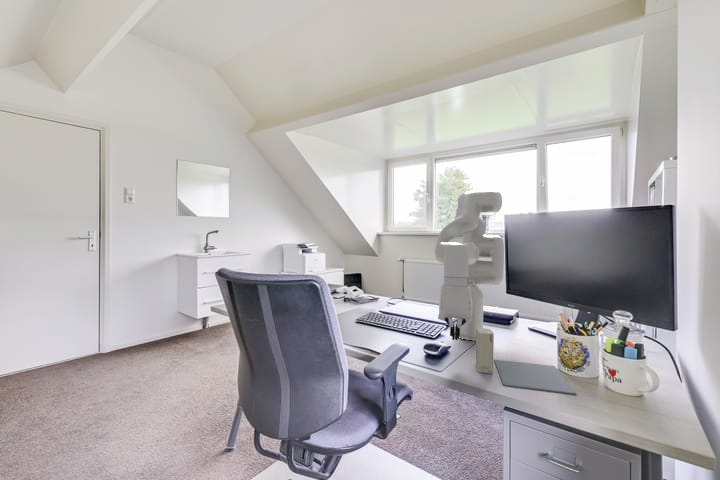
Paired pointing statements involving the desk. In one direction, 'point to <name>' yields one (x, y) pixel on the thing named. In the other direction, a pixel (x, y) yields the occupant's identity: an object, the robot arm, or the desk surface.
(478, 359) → the skincare box
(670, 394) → the desk surface
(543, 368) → the desk mat
